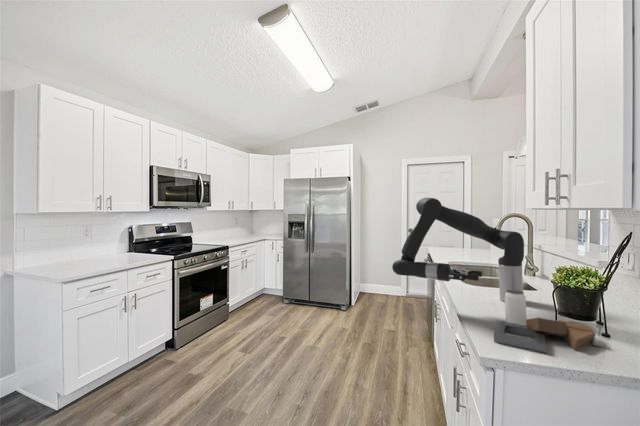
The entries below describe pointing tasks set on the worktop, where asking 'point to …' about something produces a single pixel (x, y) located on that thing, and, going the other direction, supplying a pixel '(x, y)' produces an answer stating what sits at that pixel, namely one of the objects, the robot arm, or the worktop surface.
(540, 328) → the wooden blocks
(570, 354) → the worktop surface
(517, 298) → the can
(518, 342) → the gray square frame plate
